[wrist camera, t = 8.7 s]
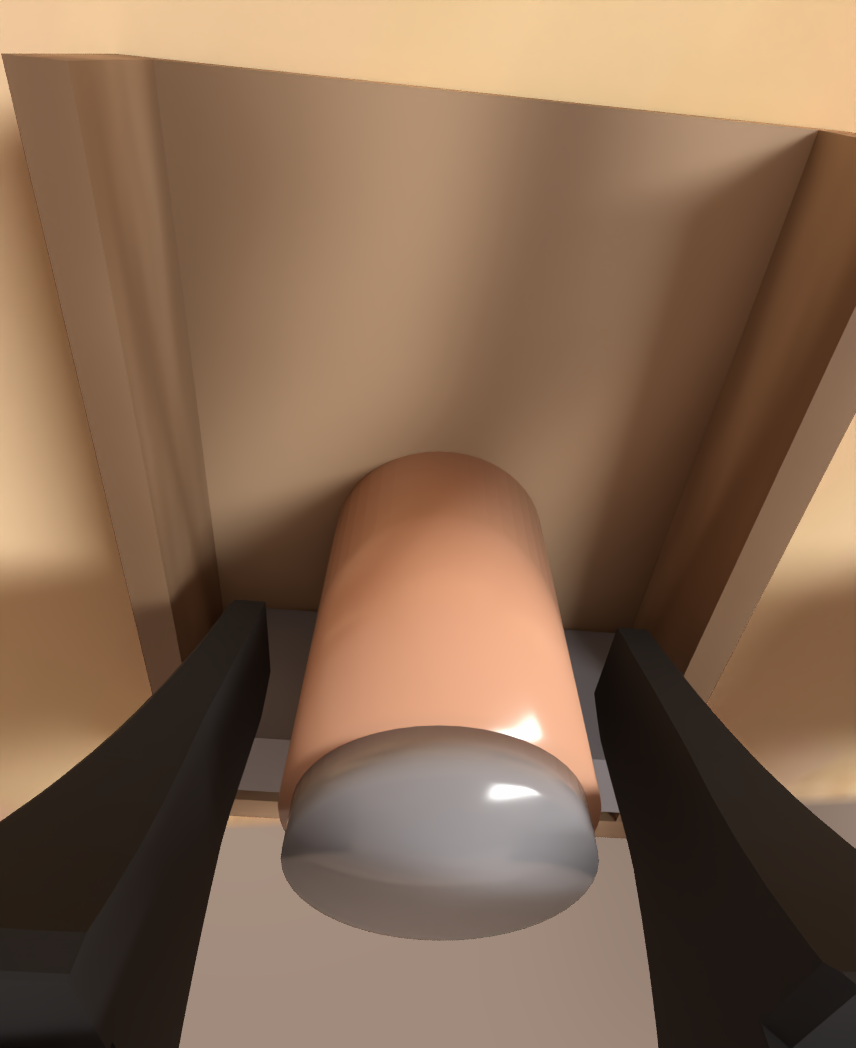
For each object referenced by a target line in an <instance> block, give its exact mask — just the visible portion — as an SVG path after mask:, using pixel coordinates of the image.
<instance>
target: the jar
mask: <svg viewBox="0 0 856 1048" xmlns="http://www.w3.org/2000/svg"><path fill="white" fill-rule="evenodd" d="M278 811H279V818H280V821H281V823H282V826H283V829H284V830H285V837H284V842H283V847H282V854H281V863H282V870H283V872H284V875H285V877H286V879H287V881H288V883H289V884H290V886H291V887H292V889H293V890H294V891H295V892H296V893H297V894H298V895H299V896H300V897H301V898H302V899H303V900H304V901H305V902H307V903H308V904H309V905H310V906H312V907H313V908H315V909H316V910H318V911H320V912H321V913H323V914H325V915H327V916H329V917H331V918H333V919H335V920H337V921H339V922H342V923H344V924H347V925H350V926H352V927H355V928H359V929H362V930H365V931H369V932H373V933H378V934H382V935H387V936H393V937H399V938H407V939H408V938H409V939H418V940H464V939H476V938H483V937H490V936H495V935H501V934H505V933H510V932H514V931H517V930H521V929H524V928H527V927H530V926H533V925H536V924H538V923H541V922H543V921H545V920H547V919H549V918H552V917H554V916H556V915H557V914H559V913H561V912H562V911H564V910H566V909H567V908H568V907H570V906H571V905H572V904H574V903H575V902H576V901H578V900H579V898H581V896H583V895H584V894H585V892H586V891H587V890H588V888H589V887H590V885H591V884H592V883H593V881H594V878H595V876H596V873H597V869H598V863H599V860H598V850H597V845H596V840H595V835H594V833H595V831H596V828H597V826H598V823H599V821H600V815H601V797H600V792H599V788H598V783H597V779H596V774H595V769H594V765H593V760H592V756H591V751H590V747H589V742H588V738H587V733H586V729H585V724H584V720H583V715H582V710H581V706H580V701H579V697H578V692H577V688H576V683H575V679H574V674H573V670H572V665H571V661H570V656H569V652H568V647H567V642H566V638H565V633H564V629H563V624H562V620H561V615H560V611H559V606H558V602H557V597H556V593H555V588H554V584H553V579H552V574H551V570H550V565H549V561H548V556H547V552H546V547H545V543H544V538H543V534H542V529H541V525H540V520H539V517H538V513H537V510H536V507H535V505H534V503H533V501H532V499H531V498H530V496H529V495H528V493H527V492H526V490H525V489H524V488H523V487H522V486H521V485H520V483H519V482H518V481H517V480H516V479H514V478H513V477H512V476H511V475H509V474H508V473H507V472H506V471H504V470H502V469H501V468H499V467H497V466H496V465H494V464H492V463H490V462H487V461H485V460H483V459H480V458H477V457H474V456H470V455H466V454H461V453H455V452H441V451H436V452H422V453H417V454H411V455H407V456H404V457H400V458H397V459H394V460H392V461H390V462H388V463H385V464H383V465H381V466H380V467H378V468H376V469H375V470H373V471H371V472H370V473H369V474H368V475H366V476H365V477H364V478H363V479H361V480H360V482H359V483H358V484H357V485H356V486H355V487H354V488H353V489H352V491H351V492H350V493H349V495H348V496H347V498H346V499H345V501H344V503H343V505H342V507H341V510H340V513H339V517H338V520H337V525H336V530H335V534H334V539H333V544H332V548H331V553H330V558H329V562H328V567H327V572H326V576H325V581H324V586H323V591H322V595H321V600H320V605H319V609H318V614H317V619H316V623H315V628H314V633H313V637H312V642H311V647H310V652H309V656H308V661H307V666H306V670H305V675H304V680H303V684H302V689H301V694H300V698H299V703H298V708H297V713H296V717H295V722H294V727H293V731H292V736H291V741H290V745H289V750H288V755H287V759H286V764H285V769H284V774H283V778H282V783H281V788H280V792H279V800H278Z"/></svg>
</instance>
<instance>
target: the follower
mask: <svg viewBox="0 0 856 1048" xmlns="http://www.w3.org/2000/svg"><path fill="white" fill-rule="evenodd" d="M317 614H318V612H313V611H299V610H285V609H271V608H266V616H267V629H268V642H269V656H270V669H271V672H270V677H269V682H268V687H267V692H266V698H265V702H264V707H263V712H262V716H261V720H260V723H259V726H258V730H257V733H256V736H255V739H254V742H253V745H252V748H251V751H250V754H249V757H248V760H247V763H246V766H245V769H244V773H243V776H242V779H241V782H240V785H239V788H238V790H248V791H264V792H280V788H281V783H282V778H283V774H284V769H285V764H286V759H287V755H288V750H289V745H290V741H291V736H292V731H293V727H294V722H295V717H296V713H297V708H298V703H299V698H300V694H301V689H302V684H303V680H304V675H305V670H306V666H307V661H308V656H309V652H310V647H311V642H312V637H313V633H314V628H315V623H316V619H317ZM564 633H565V638H566V642H567V647H568V652H569V656H570V661H571V665H572V670H573V674H574V679H575V683H576V688H577V692H578V697H579V701H580V706H581V710H582V715H583V720H584V724H585V729H586V733H587V738H588V742H589V747H590V751H591V756H592V760H593V765H594V769H595V774H596V779H597V783H598V788H599V792H600V797H601V812H617V813H620V812H619V809H618V805H617V801H616V798H615V794H614V790H613V786H612V783H611V779H610V775H609V771H608V768H607V764H606V760H605V756H604V752H603V748H602V745H601V741H600V734H599V727H598V721H597V713H596V705H595V697H594V692H595V689H596V687H597V684H598V681H599V678H600V675H601V672H602V670H603V667H604V664H605V661H606V658H607V656H608V653H609V650H610V647H611V644H612V642H613V639H614V636H615V633H607V632H593V631H579V630H565V629H564Z"/></svg>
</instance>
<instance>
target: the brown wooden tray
mask: <svg viewBox="0 0 856 1048" xmlns="http://www.w3.org/2000/svg"><path fill="white" fill-rule="evenodd" d="M1 55H2V59H3V63H4V67H5V72H6V76H7V80H8V84H9V89H10V93H11V97H12V101H13V106H14V110H15V114H16V118H17V123H18V127H19V131H20V135H21V139H22V144H23V148H24V152H25V156H26V161H27V165H28V169H29V173H30V178H31V182H32V186H33V190H34V195H35V199H36V203H37V207H38V211H39V216H40V220H41V224H42V228H43V233H44V237H45V241H46V245H47V250H48V254H49V258H50V262H51V267H52V271H53V275H54V279H55V283H56V288H57V292H58V296H59V300H60V305H61V309H62V313H63V317H64V322H65V326H66V330H67V334H68V339H69V343H70V347H71V351H72V355H73V360H74V364H75V368H76V372H77V377H78V381H79V385H80V389H81V394H82V398H83V402H84V406H85V411H86V415H87V419H88V423H89V427H90V432H91V436H92V440H93V444H94V449H95V453H96V457H97V461H98V466H99V470H100V474H101V478H102V482H103V487H104V491H105V495H106V499H107V504H108V508H109V512H110V516H111V521H112V525H113V529H114V533H115V538H116V542H117V546H118V550H119V554H120V559H121V563H122V567H123V571H124V576H125V580H126V584H127V588H128V593H129V597H130V601H131V605H132V610H133V614H134V618H135V622H136V626H137V631H138V635H139V639H140V643H141V648H142V652H143V656H144V660H145V665H146V669H147V673H148V677H149V682H150V686H151V690H152V694H154V693H155V692H156V691H157V690H158V689H159V688H160V687H161V686H162V685H163V684H164V683H165V681H166V680H167V679H168V678H169V677H170V676H171V675H172V674H173V673H174V671H175V670H176V669H177V668H178V667H179V666H180V665H181V663H182V662H183V661H184V660H185V659H186V658H187V657H188V655H189V654H190V653H191V652H192V651H193V650H194V649H195V647H196V646H197V645H198V644H199V642H200V641H201V640H202V639H203V638H204V636H205V635H206V634H207V633H208V631H209V630H210V629H211V628H212V626H213V625H214V624H215V623H216V621H217V620H218V619H219V617H220V616H221V615H222V613H223V612H224V611H225V609H226V608H227V607H228V605H229V604H230V603H231V602H232V601H234V600H248V601H262V602H265V603H266V608H271V609H285V610H299V611H313V612H318V609H319V605H320V600H321V595H322V591H323V586H324V581H325V576H326V572H327V567H328V562H329V558H330V553H331V548H332V544H333V539H334V534H335V530H336V525H337V520H338V517H339V513H340V510H341V507H342V505H343V503H344V501H345V499H346V498H347V496H348V495H349V493H350V492H351V491H352V489H353V488H354V487H355V486H356V485H357V484H358V483H359V482H360V480H361V479H363V478H364V477H365V476H366V475H368V474H369V473H370V472H371V471H373V470H375V469H376V468H378V467H380V466H381V465H383V464H385V463H388V462H390V461H392V460H394V459H397V458H400V457H404V456H407V455H411V454H417V453H422V452H436V451H441V452H455V453H461V454H466V455H470V456H474V457H477V458H480V459H483V460H485V461H487V462H490V463H492V464H494V465H496V466H497V467H499V468H501V469H502V470H504V471H506V472H507V473H508V474H509V475H511V476H512V477H513V478H514V479H516V480H517V481H518V482H519V483H520V485H521V486H522V487H523V488H524V489H525V490H526V492H527V493H528V495H529V496H530V498H531V499H532V501H533V503H534V505H535V507H536V510H537V513H538V517H539V520H540V525H541V529H542V534H543V538H544V543H545V547H546V552H547V556H548V561H549V565H550V570H551V574H552V579H553V584H554V588H555V593H556V597H557V602H558V606H559V611H560V615H561V620H562V624H563V629H565V630H579V631H593V632H607V633H616V630H617V628H618V627H620V628H633V629H647V630H648V632H649V633H650V634H651V635H652V637H653V638H654V639H655V641H656V642H657V643H658V644H659V646H660V647H661V648H662V649H663V651H664V652H665V653H666V655H667V656H668V657H669V658H670V660H671V661H672V662H673V663H674V665H675V666H676V667H677V669H678V670H679V671H680V672H681V674H682V675H683V676H684V677H685V679H686V680H687V681H688V682H689V684H690V685H691V686H692V687H693V689H694V690H695V691H696V692H697V694H698V695H699V696H700V697H701V698H702V700H703V701H704V702H705V703H707V701H708V699H709V697H710V695H711V693H712V692H713V690H714V688H715V686H716V684H717V682H718V680H719V678H720V676H721V674H722V672H723V670H724V668H725V666H726V664H727V662H728V660H729V658H730V656H731V655H732V653H733V651H734V649H735V647H736V645H737V643H738V641H739V639H740V637H741V635H742V633H743V631H744V629H745V627H746V625H747V623H748V621H749V619H750V617H751V616H752V614H753V612H754V610H755V608H756V606H757V604H758V602H759V600H760V598H761V596H762V594H763V592H764V590H765V588H766V586H767V584H768V582H769V580H770V579H771V577H772V575H773V573H774V571H775V569H776V567H777V565H778V563H779V561H780V559H781V557H782V555H783V553H784V551H785V549H786V547H787V545H788V543H789V541H790V540H791V538H792V536H793V534H794V532H795V530H796V528H797V526H798V524H799V522H800V520H801V518H802V516H803V514H804V512H805V510H806V508H807V506H808V504H809V503H810V501H811V499H812V497H813V495H814V493H815V491H816V489H817V487H818V485H819V483H820V481H821V479H822V477H823V475H824V473H825V471H826V469H827V467H828V465H829V464H830V462H831V460H832V458H833V456H834V454H835V452H836V450H837V448H838V446H839V444H840V442H841V440H842V438H843V436H844V434H845V432H846V430H847V428H848V427H849V425H850V423H851V421H852V419H853V417H854V415H855V413H856V133H852V132H844V131H835V130H825V129H816V128H806V127H797V126H788V125H778V124H769V123H759V122H750V121H741V120H731V119H722V118H712V117H703V116H694V115H684V114H675V113H665V112H656V111H647V110H637V109H628V108H618V107H609V106H600V105H590V104H581V103H571V102H562V101H553V100H543V99H534V98H525V97H515V96H506V95H496V94H487V93H478V92H468V91H459V90H449V89H440V88H431V87H421V86H412V85H402V84H393V83H384V82H374V81H365V80H355V79H346V78H337V77H327V76H318V75H308V74H299V73H290V72H280V71H271V70H261V69H252V68H243V67H233V66H224V65H214V64H205V63H196V62H186V61H177V60H167V59H158V58H149V57H139V56H130V55H120V54H1ZM278 800H279V792H264V791H248V790H238V791H237V794H236V797H235V800H234V803H233V806H232V809H231V812H230V815H229V816H247V817H264V818H279V811H278ZM594 835H595V837H610V838H626V835H625V831H624V827H623V823H622V820H621V816H620V813H617V812H601V815H600V821H599V823H598V826H597V828H596V831H595V833H594Z"/></svg>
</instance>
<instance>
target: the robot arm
mask: <svg viewBox="0 0 856 1048" xmlns="http://www.w3.org/2000/svg"><path fill="white" fill-rule="evenodd" d="M270 672H271V669H270V656H269V642H268V629H267V616H266V603H265V602H262V601H248V600H234V601H232V602H231V603H230V604H229V605H228V607H227V608H226V609H225V611H224V612H223V613H222V615H221V616H220V617H219V619H218V620H217V621H216V623H215V624H214V625H213V626H212V628H211V629H210V630H209V631H208V633H207V634H206V635H205V636H204V638H203V639H202V640H201V641H200V642H199V644H198V645H197V646H196V647H195V649H194V650H193V651H192V652H191V653H190V654H189V655H188V657H187V658H186V659H185V660H184V661H183V662H182V663H181V665H180V666H179V667H178V668H177V669H176V670H175V671H174V673H173V674H172V675H171V676H170V677H169V678H168V679H167V680H166V681H165V683H164V684H163V685H162V686H161V687H160V688H159V689H158V690H157V691H156V692H155V693H154V694H153V695H152V696H151V697H150V698H149V699H148V700H147V701H146V702H145V703H144V704H143V705H142V706H141V707H140V708H139V709H138V710H137V711H136V712H135V713H134V714H133V715H132V716H131V717H130V718H129V719H128V720H127V721H126V722H125V723H124V724H123V725H122V726H121V727H120V728H119V729H117V730H116V731H115V732H114V733H113V734H112V735H111V736H110V737H109V738H107V739H106V740H105V741H104V742H103V743H102V744H101V745H100V746H98V747H97V748H96V749H95V750H94V751H93V752H92V753H90V754H89V755H88V756H87V757H85V758H84V759H83V760H82V761H81V762H79V763H78V764H77V765H76V766H74V767H73V768H72V769H71V770H70V771H68V772H67V773H66V774H65V775H63V776H62V777H61V778H60V779H58V780H57V781H56V782H54V783H53V784H52V785H51V786H49V787H48V788H47V789H45V790H44V791H43V792H41V793H40V794H39V795H37V796H36V797H34V798H33V799H32V800H30V801H29V802H27V803H26V804H25V805H23V806H22V807H20V808H19V809H17V810H16V811H15V812H13V813H12V814H10V815H9V816H8V817H6V818H5V819H3V820H2V821H0V1048H179V1043H180V1038H181V1032H182V1027H183V1021H184V1016H185V1011H186V1006H187V1001H188V996H189V991H190V986H191V981H192V976H193V971H194V965H195V961H196V956H197V951H198V946H199V941H200V937H201V932H202V927H203V922H204V918H205V913H206V909H207V904H208V899H209V895H210V890H211V886H212V881H213V877H214V873H215V868H216V864H217V859H218V854H219V850H220V846H221V842H222V839H223V835H224V832H225V828H226V825H227V821H228V818H229V815H230V812H231V809H232V806H233V803H234V800H235V797H236V794H237V791H238V788H239V785H240V782H241V779H242V776H243V773H244V769H245V766H246V763H247V760H248V757H249V754H250V751H251V748H252V745H253V742H254V739H255V736H256V733H257V730H258V726H259V723H260V720H261V716H262V712H263V707H264V702H265V698H266V692H267V687H268V682H269V677H270ZM594 697H595V705H596V713H597V721H598V727H599V734H600V741H601V745H602V748H603V752H604V756H605V760H606V764H607V768H608V771H609V775H610V779H611V783H612V786H613V790H614V794H615V798H616V801H617V805H618V809H619V812H620V816H621V820H622V823H623V827H624V831H625V835H626V838H627V841H628V846H629V850H630V855H631V859H632V864H633V868H634V873H635V880H636V886H637V892H638V898H639V904H640V910H641V916H642V923H643V930H644V936H645V943H646V950H647V957H648V964H649V971H650V979H651V987H652V995H653V1003H654V1011H655V1019H656V1027H657V1038H658V1047H659V1048H856V849H855V848H854V847H852V846H851V845H850V844H849V843H848V842H846V841H845V840H844V839H843V838H842V837H840V836H839V835H838V834H837V833H836V832H835V831H833V830H832V829H831V828H830V827H828V826H827V825H826V824H825V823H824V822H823V821H821V820H820V819H819V818H818V817H817V816H815V815H814V814H813V813H812V812H811V811H810V810H808V808H806V807H805V806H804V805H803V804H802V803H801V802H800V801H799V800H797V799H796V798H795V797H794V796H793V795H792V794H791V793H790V792H789V791H788V790H787V789H786V788H785V787H784V786H783V785H782V784H781V783H780V782H778V781H777V780H776V779H775V778H774V777H773V776H772V775H771V774H770V773H769V772H768V771H767V770H766V769H765V768H764V767H763V766H762V765H761V764H760V763H759V762H758V761H757V760H756V759H755V758H754V757H753V756H752V755H751V754H750V753H749V751H748V750H747V749H746V748H745V747H744V746H743V745H742V744H741V743H740V742H739V741H738V740H737V739H736V738H735V736H734V735H733V734H732V733H731V732H730V731H729V730H728V729H727V728H726V727H725V725H724V724H723V723H722V722H721V721H720V720H719V719H718V717H717V716H716V715H715V714H714V713H713V711H712V710H711V709H710V708H709V707H708V706H707V704H706V703H705V702H704V701H703V700H702V698H701V697H700V696H699V695H698V694H697V692H696V691H695V690H694V689H693V687H692V686H691V685H690V684H689V682H688V681H687V680H686V679H685V677H684V676H683V675H682V674H681V672H680V671H679V670H678V669H677V667H676V666H675V665H674V663H673V662H672V661H671V660H670V658H669V657H668V656H667V655H666V653H665V652H664V651H663V649H662V648H661V647H660V646H659V644H658V643H657V642H656V641H655V639H654V638H653V637H652V635H651V634H650V633H649V632H648V630H647V629H633V628H620V627H618V628H617V630H616V633H615V636H614V639H613V642H612V644H611V647H610V650H609V653H608V656H607V658H606V661H605V664H604V667H603V670H602V672H601V675H600V678H599V681H598V684H597V687H596V689H595V692H594Z"/></svg>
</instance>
